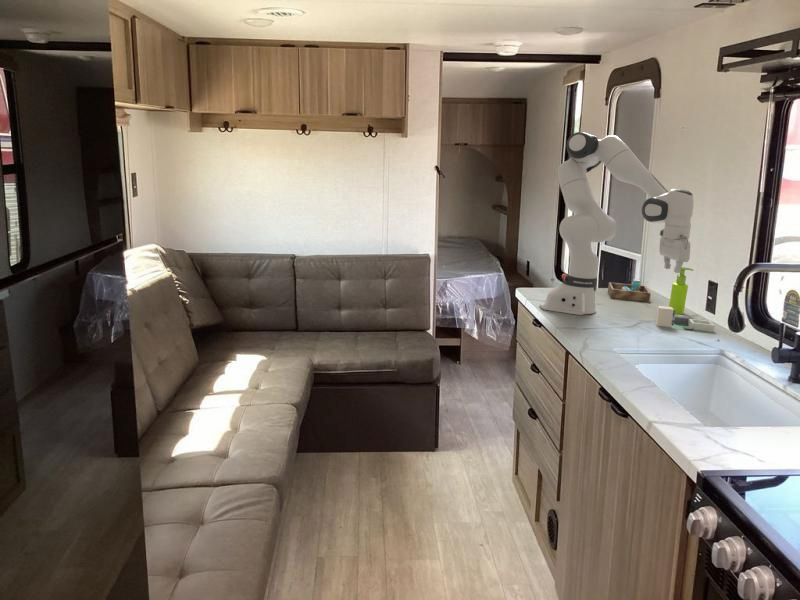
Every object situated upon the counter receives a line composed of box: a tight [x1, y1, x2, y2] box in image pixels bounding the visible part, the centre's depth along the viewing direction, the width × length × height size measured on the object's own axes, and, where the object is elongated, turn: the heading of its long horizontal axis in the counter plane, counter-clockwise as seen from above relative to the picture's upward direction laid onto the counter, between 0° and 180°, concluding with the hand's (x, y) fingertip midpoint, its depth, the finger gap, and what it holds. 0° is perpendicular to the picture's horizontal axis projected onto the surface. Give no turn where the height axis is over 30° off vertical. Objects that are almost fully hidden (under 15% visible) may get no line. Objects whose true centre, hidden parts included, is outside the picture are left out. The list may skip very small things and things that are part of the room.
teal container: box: [621, 279, 642, 292], centre depth 297 cm, size 12×12×8 cm
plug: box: [654, 305, 675, 328], centre depth 243 cm, size 6×4×8 cm
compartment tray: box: [671, 318, 716, 335], centre depth 244 cm, size 14×15×4 cm
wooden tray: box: [607, 282, 651, 303], centre depth 297 cm, size 17×17×4 cm
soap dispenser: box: [668, 266, 694, 315], centre depth 264 cm, size 6×7×20 cm
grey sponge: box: [671, 314, 691, 326], centre depth 248 cm, size 7×8×3 cm
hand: (671, 270), depth 241 cm, fingers open, 8 cm apart
